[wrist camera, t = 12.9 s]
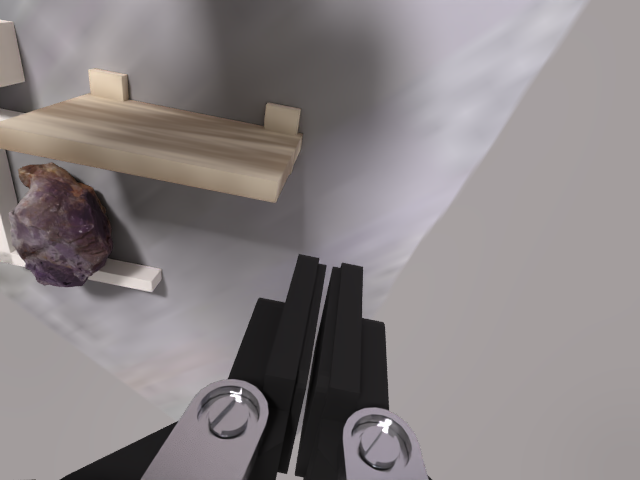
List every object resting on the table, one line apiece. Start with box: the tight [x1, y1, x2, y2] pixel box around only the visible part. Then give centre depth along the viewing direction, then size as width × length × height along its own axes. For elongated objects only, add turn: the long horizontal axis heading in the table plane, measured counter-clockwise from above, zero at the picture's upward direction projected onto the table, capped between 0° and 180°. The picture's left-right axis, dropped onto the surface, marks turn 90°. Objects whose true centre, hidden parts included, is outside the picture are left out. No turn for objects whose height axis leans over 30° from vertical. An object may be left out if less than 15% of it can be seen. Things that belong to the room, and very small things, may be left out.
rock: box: [8, 162, 113, 287], centre depth 41 cm, size 12×9×10 cm
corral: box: [0, 108, 162, 292], centre depth 43 cm, size 17×18×2 cm
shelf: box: [0, 68, 303, 203], centre depth 33 cm, size 6×20×12 cm, turn 80°
